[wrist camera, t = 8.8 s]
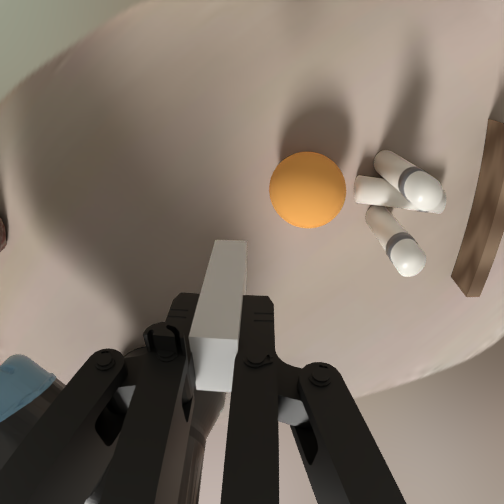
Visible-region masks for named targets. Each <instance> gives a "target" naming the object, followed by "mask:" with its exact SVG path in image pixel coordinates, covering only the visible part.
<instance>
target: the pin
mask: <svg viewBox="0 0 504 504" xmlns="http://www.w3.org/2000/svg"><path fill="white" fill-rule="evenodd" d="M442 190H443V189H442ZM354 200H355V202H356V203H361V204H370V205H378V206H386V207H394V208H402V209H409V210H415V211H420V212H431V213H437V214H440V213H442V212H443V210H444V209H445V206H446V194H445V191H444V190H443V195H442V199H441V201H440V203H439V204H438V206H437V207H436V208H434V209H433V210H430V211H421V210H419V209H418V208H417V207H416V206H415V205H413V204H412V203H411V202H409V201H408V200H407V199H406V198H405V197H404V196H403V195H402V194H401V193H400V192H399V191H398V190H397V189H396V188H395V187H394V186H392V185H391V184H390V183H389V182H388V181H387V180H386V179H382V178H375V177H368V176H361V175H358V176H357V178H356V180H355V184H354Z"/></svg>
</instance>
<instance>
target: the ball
mask: <svg viewBox="0 0 504 504" xmlns="http://www.w3.org/2000/svg"><path fill="white" fill-rule="evenodd" d="M269 193H270V199H271V202H272V205H273V207H274V209H275V210H276V212H277V213H278V214H279V215H280V216H281V217H282V218H283V219H284V220H285V221H287V222H288V223H290V224H292V225H294V226H297V227H301V228H316V227H319V226H322V225H325V224H327V223H328V222H330V221H331V220H332V219H334V218H335V217H336V216H337V214H338V213H339V212H340V210H341V208H342V207H343V204H344V201H345V197H346V184H345V180H344V177H343V174H342V172H341V171H340V169H339V168H338V166H337V165H336V164H335V163H334V162H333V161H332V160H330V159H329V158H328V157H326V156H324V155H322V154H319V153H315V152H299V153H295V154H293V155H290V156H288V157H287V158H285V159H284V160H283V161H282V162H281V163H280V164H279V165H278V166H277V167H276V169H275V170H274V172H273V174H272V177H271V180H270V186H269Z"/></svg>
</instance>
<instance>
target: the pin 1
mask: <svg viewBox="0 0 504 504" xmlns="http://www.w3.org/2000/svg"><path fill="white" fill-rule="evenodd" d="M374 168H375V170H376V171H377V173H379V174H380V175H381V176H382V177H383V178H384V179H386V180H387V181H388V182H389V183H390V184H391V185H392V186H394V187H395V188H396V189H397V190H398V191H399V192H400V193H401V194H402V195H403V196H404V197H405V198H406V199H407V200H408V201H409V202H411V203H412V204H413V205H415V206H416V207H417V208H418V209H419V210H421V211H430V210H433V209H434V208H436V207H437V206H438V204H439V203H440V201H441V199H442V195H443V190H442V186H441V184H440V182H439V181H438V180H437V179H435V178H434V177H432V176H431V175H430V174H429V173H427V172H426V171H424V170H423V169H421V168H419V167H417V166H415V165H413V164H412V163H410V162H409V161H407V160H405V159H404V158H402V157H400V156H399V155H397V154H395V153H394V152H392V151H390V150H383V151H380V152H379V153H378V154H377V155H376V156H375V158H374Z"/></svg>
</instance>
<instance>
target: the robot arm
mask: <svg viewBox="0 0 504 504" xmlns="http://www.w3.org/2000/svg"><path fill="white" fill-rule="evenodd" d="M246 278H247V241H239V240H215V243H214V246H213V250H212V253H211V257H210V260H209V264H208V267H207V271H206V275H205V278H204V282H203V285H202V289H201V292H200V294H195V293H180V294H179V295H178V296H177V297H176V298H175V299H174V300H173V302H172V305H171V308H170V310H169V313H168V317H167V319H166V321H165V322H160V323H156V324H153V325H151V326H150V327H148V328H147V329H146V330H145V332H144V333H143V336H144V340H145V344H146V347H144V348H139V349H136V350H134V351H132V352H130V353H129V354H127V355H126V356H125V357H123V356H122V354H121V353H120V352H118V351H117V350H114V349H102V350H99V351H97V352H95V353H94V354H93V355H91V356H90V357H89V359H88V360H87V361H86V362H85V363H84V365H83V366H82V367H81V368H80V369H79V371H78V372H77V373H76V374H75V375H74V377H73V378H72V379H71V380H70V381H69V383H68V384H67V385H65V384H63V383H62V382H61V381H59V380H58V379H57V378H56V376H55V375H54V374H53V373H49V372H47V371H46V370H44V369H43V368H42V367H40V366H39V365H38V364H36V363H35V362H34V361H32V360H31V359H30V358H28V357H27V356H24V355H21V354H16V355H12V356H10V357H9V358H8V359H7V360H6V361H5V362H4V363H3V364H2V365H1V366H0V504H198V501H199V492H200V484H201V476H202V475H201V474H202V467H203V459H204V451H205V443H206V439H207V437H208V435H209V433H210V431H211V430H212V428H213V426H214V424H215V422H216V420H217V419H218V417H219V415H220V413H221V412H222V410H223V407H224V404H225V396H226V392H231V401H230V411H229V421H228V431H227V441H226V451H225V462H224V472H223V483H222V493H221V504H279V438H278V421H280V422H283V423H286V424H290V427H291V430H292V433H293V436H294V438H295V441H296V444H297V447H298V450H299V453H300V455H301V458H302V461H303V464H304V467H305V470H306V472H307V475H308V478H309V481H310V484H311V486H312V489H313V492H314V495H315V497H316V500H317V503H318V504H406V502H405V500H404V498H403V496H402V494H401V492H400V490H399V488H398V486H397V484H396V482H395V480H394V478H393V476H392V474H391V472H390V470H389V468H388V466H387V464H386V462H385V460H384V458H383V456H382V454H381V452H380V450H379V448H378V446H377V444H376V442H375V440H374V438H373V436H372V434H371V432H370V431H369V428H368V426H367V424H366V423H365V421H364V419H363V417H362V415H361V413H360V411H359V409H358V407H357V405H356V403H355V401H354V399H353V397H352V395H351V393H350V392H349V390H348V388H347V386H346V384H345V382H344V380H343V378H342V376H341V374H340V373H339V372H338V370H337V369H336V368H335V367H333V366H331V365H330V364H327V363H322V362H314V363H311V364H308V365H306V366H305V367H304V368H302V369H301V368H298V367H294V366H291V365H288V364H286V363H285V362H283V361H282V360H281V359H280V358H279V357H278V356H277V354H276V351H275V335H274V304H273V303H272V301H271V300H270V298H269V297H268V296H253V295H246Z"/></svg>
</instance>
